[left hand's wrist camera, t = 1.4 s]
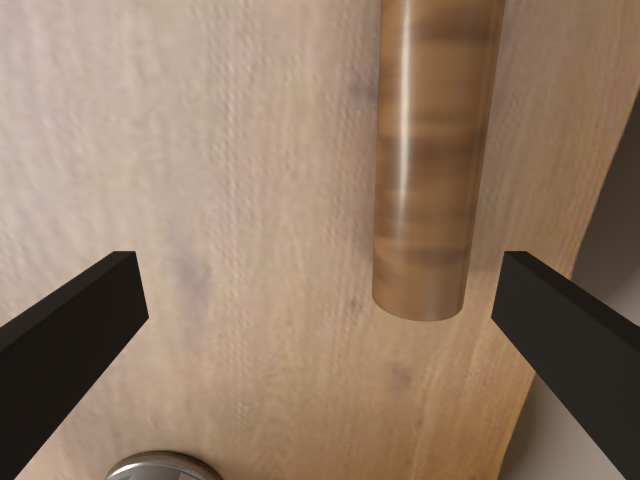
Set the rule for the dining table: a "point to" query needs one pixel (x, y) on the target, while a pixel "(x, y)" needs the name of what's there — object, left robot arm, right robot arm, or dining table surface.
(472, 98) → the rod
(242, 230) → the dining table surface
